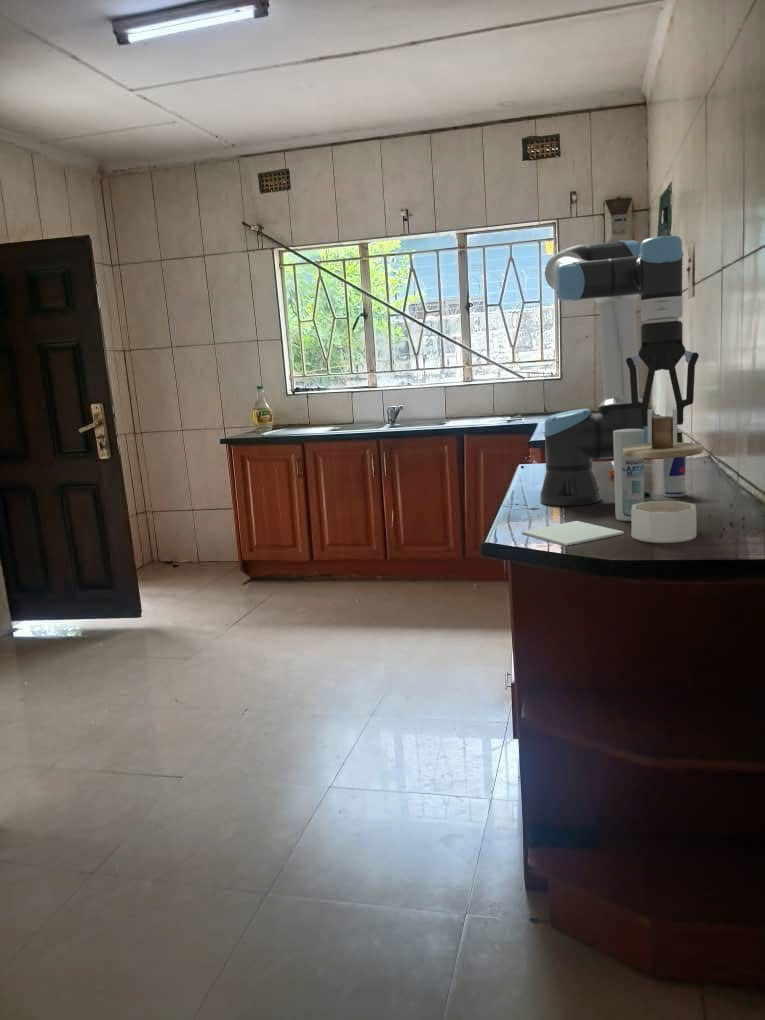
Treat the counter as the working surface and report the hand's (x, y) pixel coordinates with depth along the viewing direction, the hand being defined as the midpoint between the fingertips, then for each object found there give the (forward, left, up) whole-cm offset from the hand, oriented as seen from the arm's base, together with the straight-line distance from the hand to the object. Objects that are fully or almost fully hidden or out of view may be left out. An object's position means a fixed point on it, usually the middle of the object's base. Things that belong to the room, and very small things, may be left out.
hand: (662, 441), depth 149 cm
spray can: (-17, +7, -19) cm, 27 cm away
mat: (-14, -12, -19) cm, 27 cm away
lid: (0, 0, -2) cm, 2 cm away
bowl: (0, 0, -19) cm, 19 cm away
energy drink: (-29, +33, -19) cm, 48 cm away
